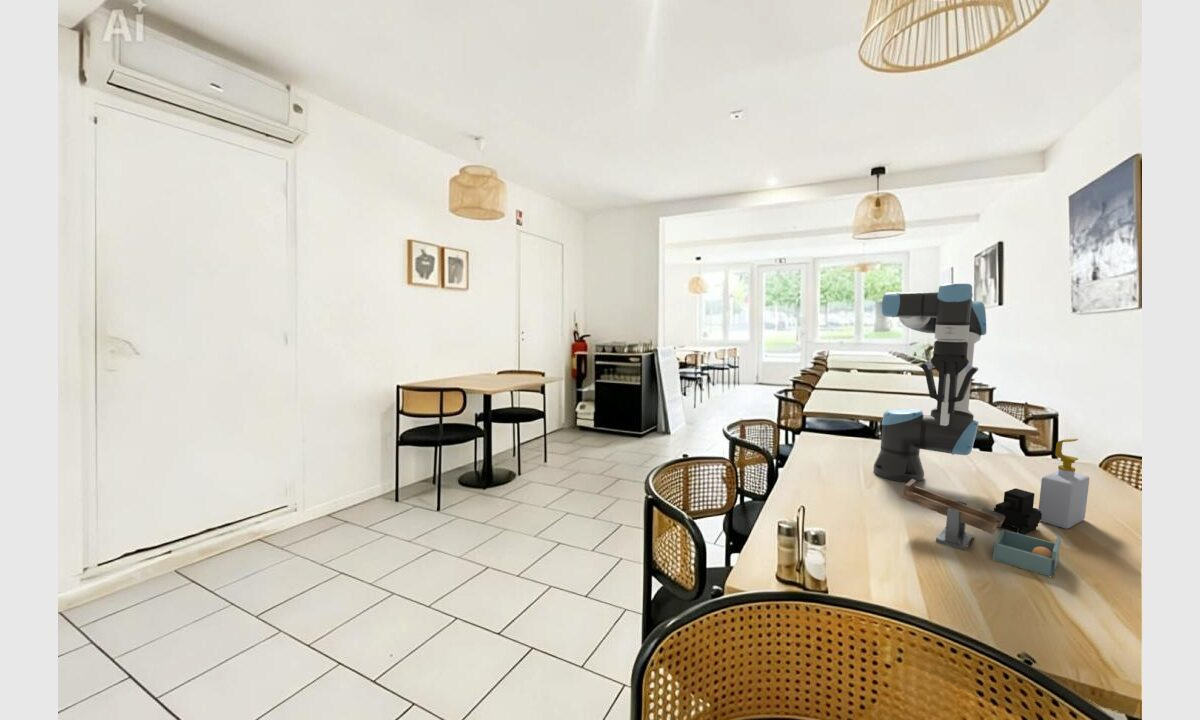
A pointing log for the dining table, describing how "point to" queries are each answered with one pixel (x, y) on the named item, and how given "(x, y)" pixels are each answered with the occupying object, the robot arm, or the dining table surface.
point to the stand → (955, 531)
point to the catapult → (940, 504)
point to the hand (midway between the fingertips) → (944, 424)
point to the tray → (1026, 552)
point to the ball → (1042, 552)
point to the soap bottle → (1063, 493)
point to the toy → (1019, 511)
